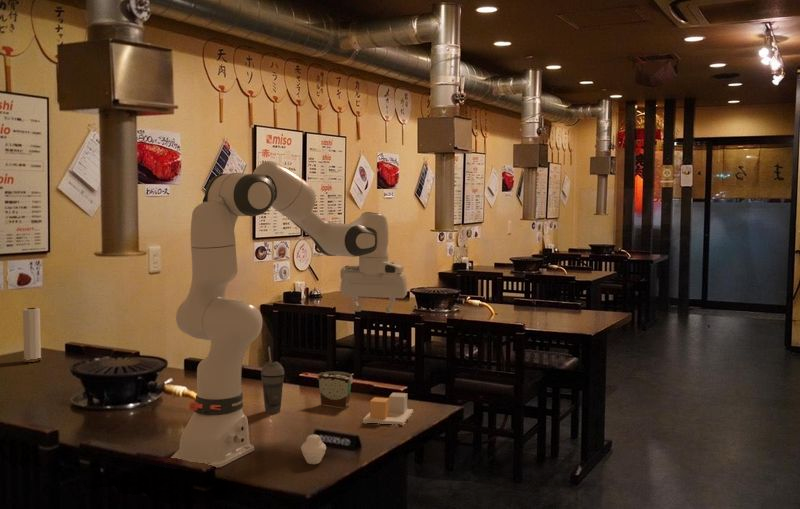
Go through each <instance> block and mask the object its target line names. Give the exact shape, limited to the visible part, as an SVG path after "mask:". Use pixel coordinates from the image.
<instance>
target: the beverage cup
mask: <svg viewBox="0 0 800 509" xmlns="http://www.w3.org/2000/svg"><path fill="white" fill-rule="evenodd" d="M267 350H268V358H269V361H268V362H266V363H265V364H264V365H263V366H262V368H261V371H260V372H261V373H260V377H261V382H262V392H263V403H264V411H265V413H266V414H270V415H271V414H273V415H274V414H279V413H280V412H281V407H282V398H283V386H284V381H285V380H284V379H285V375H286V374H285V373H286V372H285V370H284V367H283V366H282V364H281V363H280V362H278V361H274V360H272V355H271V354H272V353H271V346H268V348H267Z"/></svg>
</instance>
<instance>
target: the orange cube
mask: <svg viewBox="0 0 800 509" xmlns="http://www.w3.org/2000/svg"><path fill="white" fill-rule="evenodd" d="M369 404H370V405H369V407H370V408H369V410H370V411H369V413H370V418H377V419H386V418H387V417H388V416H389V397H377V396H376V397H375V396H374V397H373V398H372V399H371V400H370V403H369Z"/></svg>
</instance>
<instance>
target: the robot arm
mask: <svg viewBox="0 0 800 509" xmlns="http://www.w3.org/2000/svg"><path fill="white" fill-rule="evenodd" d="M316 196H317V195H316V192H315V190H314V189H313V188H312V186H311V185H310V184H309V183H308V182H307V181H306V180H305V179H303V178H301V177H300V176H299V175H298V174H296V173H295V172H293V170H290V169H289V168H287V167H286V166H283V165H281V164H280V163H278V162H275V161H271V160H269V161H268V160H267V161H263V162H262V163H260V164H259V165H258V166H257V167H255V169H254V170H253V173H243V172H230V173H221V174H218V175H216V176H214V177H212V178H211V179H210V180H209V182H208V183H207V185H206V187H205V191H204V196H203V199H202V203H200V204H198V205H196V206H195V207H194V209H193V210H192V213H191V219H190V221H191V222H190V251H191V272H192V273H191V274H192V275H191V276H192V277H191V284H190V288H189V291H188V295H187V297H186V298H185V300H183V302H181V303H180V305H179V306H178V308H177V310H176V317H175V321H176V325H177V327H178V329H179V330H180V331H181V332H182V333H184V334H185V335H187V336H190V337H192V338H194V339H198V340H205V341H210V347H209V351H208V354H207V356H206V357H204V358H203V359H202V360H200V362H199V363H198V365H197V368H196V388H197V389H196V393H197V394H196V395H195V397H194V398H195V399H194V401H190V402H189V404H188V409H189V410H190V411H193V414H192V415H191V417H190V419H189V421H188V423H187V425H185V426H186V427H185V428H184V430H183V431H182V434H180V439H179V449H178V450H177V451H176V452H175V453H174V454H172V456H171V457H170V458H178V459H183V460H187V461H190V462H198V463H205V464H208V465H212V466H215V467H216V469H217V468H218V469H219V468H222V467H224V466H226V465H228V464H230V463H232V462H234V461H235V460H238V459H239V458H242V457H244V456H246V455H247V454H249V453H252V452H254V451H255V447H254V445H253V444H251V443H250V432H249V430H250V429H249V422H248V421H249V420H248V417H247V416H246V414H245V413H244V411H243V407H244V396H243V392H242V368H243V361H244V357H245V354H246V352H247V349H248V348H249V347H250V345H251V344H252V343H253V342H254V341H255V340H256V339H257V338H258V337H259V335H260V334H261V332H262V329H263V316H262V313H261V311H260V310H259V309H258V308H257V306H255V305H252V304H250V303H248V302H245V301H242V300H236V299H235V300H234V299H226V290H227V288H228V287H227V286H228V284H229V283H230V282H231V281H233V280H234V279H236V276H237V275H238V259H237V258H238V256H237V245H236V234H235V226H236V222H237V221H238V218H239V217H257V216H260V215H263V214H264V213H266V212H267V211H268V210H269V209H270V208H273V209H274V210H276V211H277V212H278V213H279V214H281V215H283V216H285V217H286V218H287V219H288V220H289V221H290V222H292V223H293V224H294V225H295V226H296V227H298V229H299V230H301V231H302V232H304V233H305V234H306V235H307V236H309V238H310V239H311V240H312V241H313V242H314V245H315V246H316V248H317V250H318V251H320V253H321V254H322V255H324V256H328V257H333V256H334V257H336V256H337V257H338V256H339V257H352V258H357V257H358V265H345V266H343V267H341V269H340V272H339V273H340V274H339V275H340V276H339V277H340V279H341V280H340V288H339V290H340V291H339V293H340V294H341V296H342V297H351V301H352V303H353V305H354V306H355V308H354V312H357V313H358V312H362V305H361V304H359V302H358V301H357V300H358V299H359V297H360V298H382V299H383V298H386V299H388V298H389V300H388V301H389V302H390V303H389V304H388V305H386V306H385V313H386V314H387V313H388V314H390V313H392V307H393V305H394V304H395V303H396V299H404V298H405V297H406V296H407V295H408V285H407V284H408V283H407V278H406V276H405V274H404V273H403V272H404V266H403V265H402V264H400V263H396V262H395V261H391V260H389V253H388V245H389V224H388V220H387V217H386V216H385V215H384V214H382V213H377V212H372V211H371V212H370V211H368V212H366V211H365V212H362V213H361V215H360V216H359V217H358V218H356V219H355V220H353V221H351V222H349V223H339V222H330V221H329V222H328V221H325V220H324V219H322V217H320V216H319V215H318V214H317V213H316V212H315V211H314V207H315V205H316V199H317V198H316Z"/></svg>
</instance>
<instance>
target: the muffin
mask: <svg viewBox="0 0 800 509" xmlns="http://www.w3.org/2000/svg"><path fill="white" fill-rule="evenodd" d="M305 440H306V441H304V442H303V444H301V446H300V451H301V453H302V456H303V457H304V459H305V461H306V463H307V464H309V465H317V464H320V463H321V461H322V460H323V458H324V456H325V454H326V451H327V446H326V444H325V443H324V442H323V440H322V437H321V436H320V435H318V434H314V433H313V434H310V435H308V436H307V437H306V439H305Z"/></svg>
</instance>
